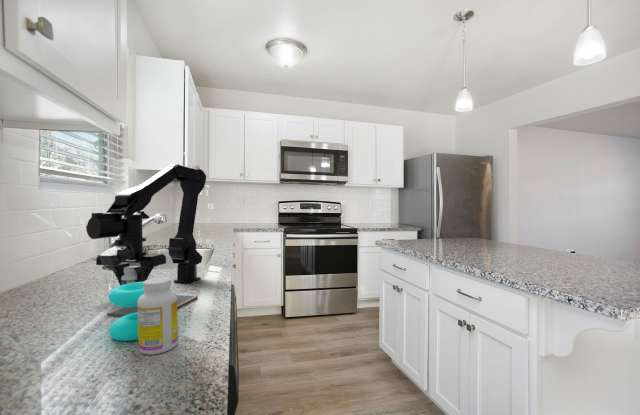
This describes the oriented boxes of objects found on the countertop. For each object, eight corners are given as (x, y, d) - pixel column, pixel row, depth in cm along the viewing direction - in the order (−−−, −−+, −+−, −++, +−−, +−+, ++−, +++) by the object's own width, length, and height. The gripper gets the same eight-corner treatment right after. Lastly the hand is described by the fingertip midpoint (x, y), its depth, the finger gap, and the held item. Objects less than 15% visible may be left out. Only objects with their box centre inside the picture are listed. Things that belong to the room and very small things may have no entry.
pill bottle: (125, 302, 85) (125, 270, 85) (118, 298, 88) (117, 267, 88) (146, 297, 89) (145, 266, 89) (138, 294, 92) (137, 264, 92)
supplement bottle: (168, 336, 63) (167, 274, 63) (184, 346, 59) (183, 279, 58) (132, 348, 58) (131, 281, 57) (146, 360, 54) (145, 287, 53)
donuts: (164, 288, 63) (105, 295, 58) (165, 336, 63) (106, 348, 58) (163, 277, 71) (112, 283, 67) (164, 320, 72) (112, 328, 67)
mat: (154, 295, 90) (154, 293, 90) (197, 298, 88) (197, 296, 88) (107, 315, 75) (107, 312, 75) (157, 319, 72) (157, 316, 72)
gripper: (77, 237, 82) (78, 295, 82) (137, 239, 78) (138, 300, 79) (112, 233, 93) (113, 284, 93) (167, 234, 89) (167, 287, 90)
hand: (131, 289), depth 88 cm, fingers closed on pill bottle, 5 cm apart
